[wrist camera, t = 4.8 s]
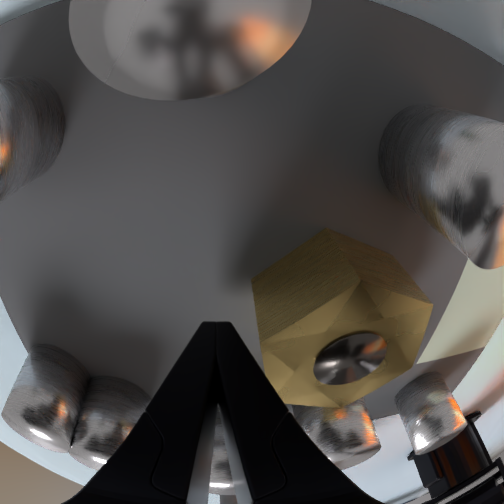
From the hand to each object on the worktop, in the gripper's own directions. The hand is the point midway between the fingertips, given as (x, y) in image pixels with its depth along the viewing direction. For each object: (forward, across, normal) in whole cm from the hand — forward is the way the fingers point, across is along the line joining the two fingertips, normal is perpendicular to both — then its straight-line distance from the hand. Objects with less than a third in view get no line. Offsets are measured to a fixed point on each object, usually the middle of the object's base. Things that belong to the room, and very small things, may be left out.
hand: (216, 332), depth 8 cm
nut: (+1, -3, 0) cm, 4 cm away
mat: (+2, -3, 0) cm, 3 cm away
